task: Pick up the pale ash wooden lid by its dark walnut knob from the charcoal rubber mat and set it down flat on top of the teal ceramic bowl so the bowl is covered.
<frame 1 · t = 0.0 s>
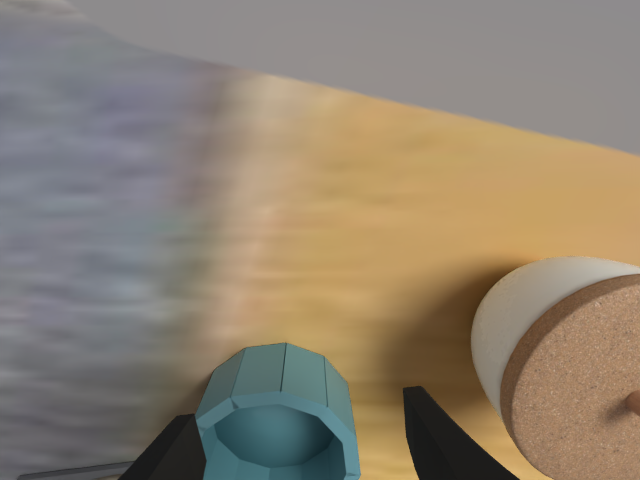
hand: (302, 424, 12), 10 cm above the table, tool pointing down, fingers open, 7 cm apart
bowl: (277, 408, 23), on the table
lidded jar: (522, 311, 22), on the table
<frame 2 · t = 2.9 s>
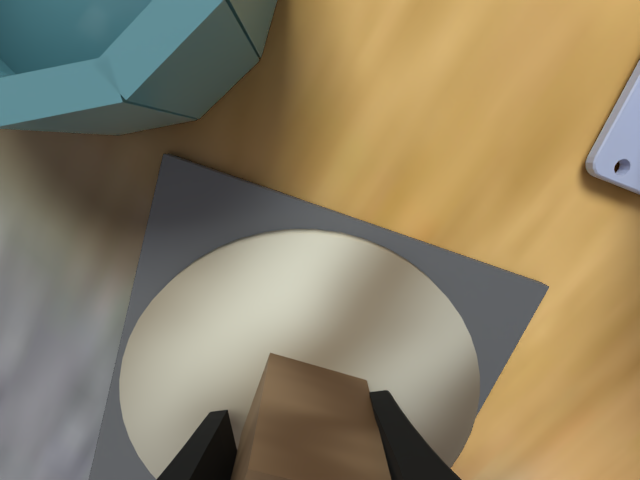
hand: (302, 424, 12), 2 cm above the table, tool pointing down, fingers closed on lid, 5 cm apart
lid: (303, 391, 13), resting on mat, touching gripper
mat: (303, 385, 14), on the table
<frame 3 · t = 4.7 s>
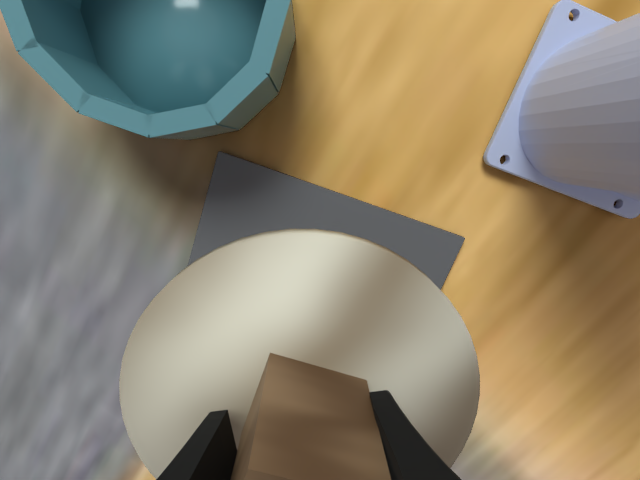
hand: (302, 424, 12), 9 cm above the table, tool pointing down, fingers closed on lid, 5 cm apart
lid: (303, 391, 13), point 7 cm above the table, touching gripper
mat: (304, 307, 20), on the table
bowl: (186, 26, 16), on the table
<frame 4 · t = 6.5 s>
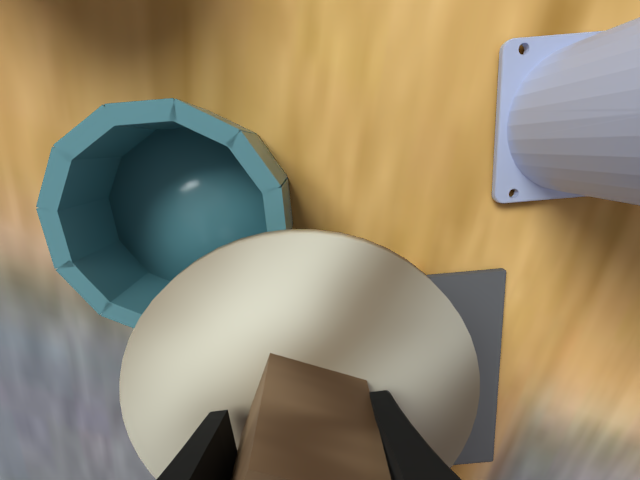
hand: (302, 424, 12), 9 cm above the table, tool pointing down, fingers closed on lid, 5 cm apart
lid: (303, 392, 13), point 7 cm above the table, touching gripper
mat: (387, 380, 22), on the table
bowl: (199, 209, 19), on the table
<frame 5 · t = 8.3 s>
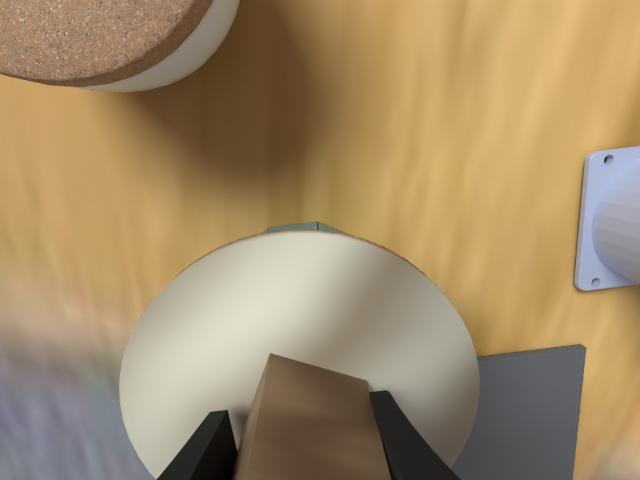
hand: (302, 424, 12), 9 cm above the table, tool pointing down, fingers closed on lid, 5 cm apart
lid: (303, 392, 13), point 7 cm above the table, touching gripper
mat: (471, 445, 23), on the table
bowl: (305, 305, 20), on the table
when the fingers open (7 cm above the table, at t = 10.1 s): lid stays where it is, resting on bowl.
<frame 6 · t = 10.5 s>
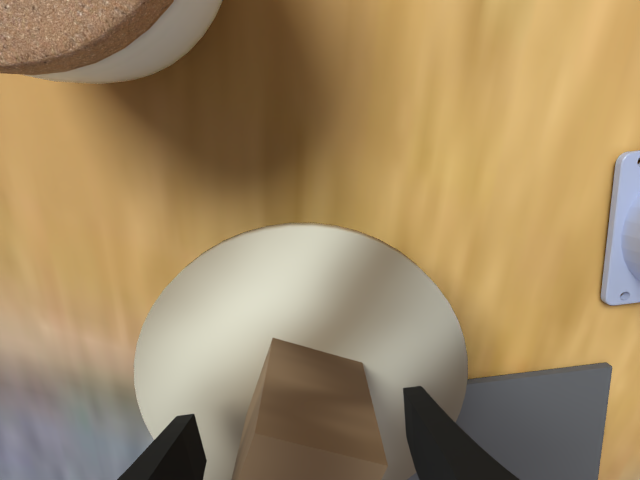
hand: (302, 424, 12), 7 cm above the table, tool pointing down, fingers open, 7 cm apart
lid: (303, 375, 14), point 4 cm above the table, touching bowl
mat: (485, 470, 22), on the table
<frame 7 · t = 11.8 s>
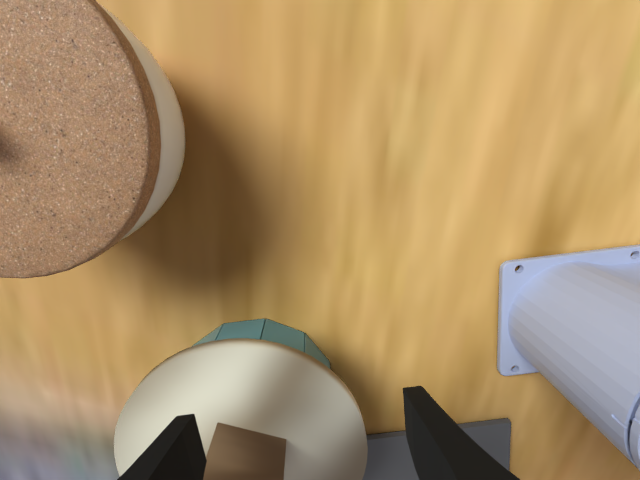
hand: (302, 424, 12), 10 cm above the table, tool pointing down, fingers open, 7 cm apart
lid: (245, 444, 18), point 4 cm above the table, touching bowl
bowl: (257, 387, 23), on the table
lidded jar: (114, 132, 18), on the table
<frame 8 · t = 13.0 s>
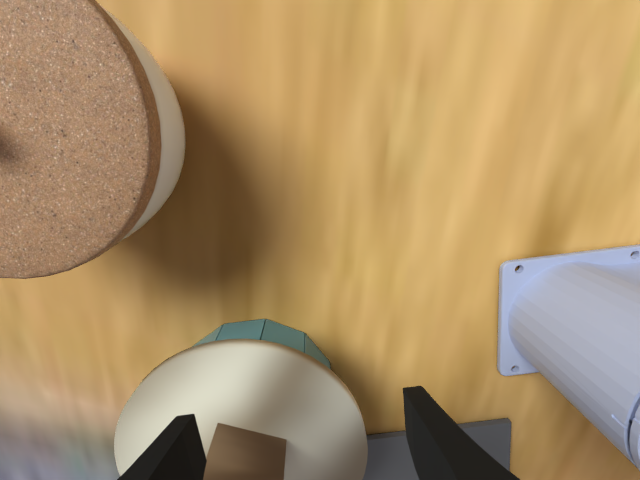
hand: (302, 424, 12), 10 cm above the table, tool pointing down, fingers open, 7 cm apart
lid: (245, 445, 18), point 4 cm above the table, touching bowl
bowl: (257, 388, 23), on the table
lidded jar: (114, 133, 18), on the table
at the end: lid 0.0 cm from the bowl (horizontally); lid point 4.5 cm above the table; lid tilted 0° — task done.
